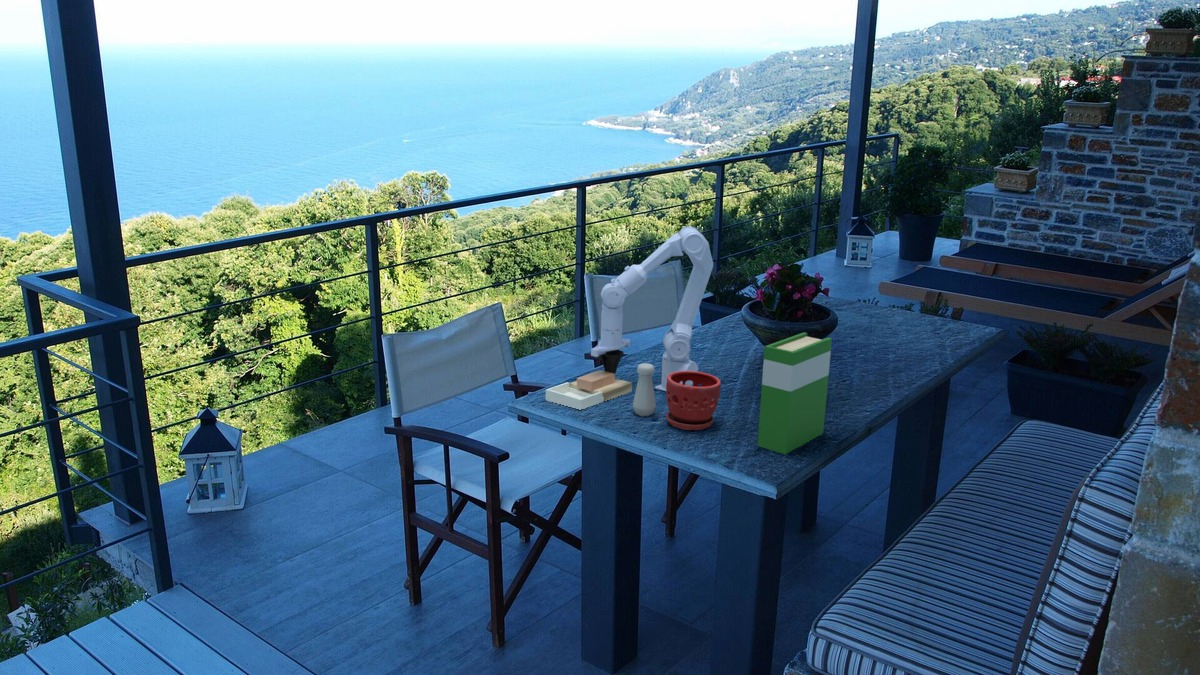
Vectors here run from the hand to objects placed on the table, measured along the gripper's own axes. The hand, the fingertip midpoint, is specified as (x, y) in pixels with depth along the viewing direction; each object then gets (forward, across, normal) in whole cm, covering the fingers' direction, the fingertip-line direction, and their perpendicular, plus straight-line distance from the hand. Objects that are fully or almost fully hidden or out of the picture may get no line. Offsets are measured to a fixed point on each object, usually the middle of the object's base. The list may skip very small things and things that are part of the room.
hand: (610, 376), depth 255 cm
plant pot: (+4, +8, +32) cm, 33 cm away
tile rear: (+1, +4, 0) cm, 4 cm away
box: (+3, +15, 0) cm, 15 cm away
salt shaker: (+3, +10, +19) cm, 22 cm away
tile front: (+1, +9, 0) cm, 9 cm away
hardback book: (+3, 0, +55) cm, 56 cm away
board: (+3, +4, 0) cm, 5 cm away
